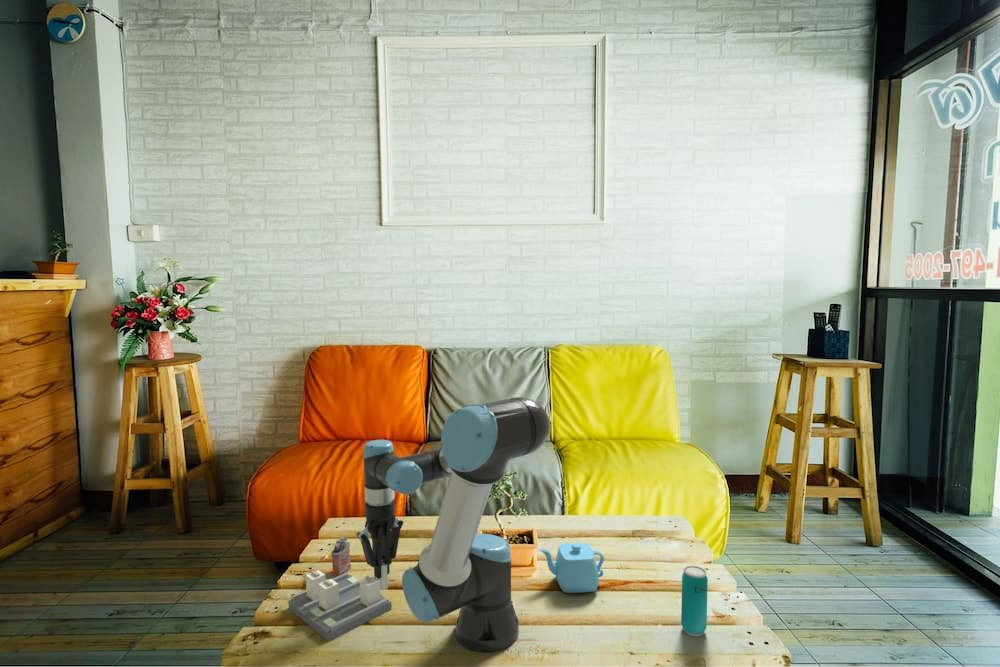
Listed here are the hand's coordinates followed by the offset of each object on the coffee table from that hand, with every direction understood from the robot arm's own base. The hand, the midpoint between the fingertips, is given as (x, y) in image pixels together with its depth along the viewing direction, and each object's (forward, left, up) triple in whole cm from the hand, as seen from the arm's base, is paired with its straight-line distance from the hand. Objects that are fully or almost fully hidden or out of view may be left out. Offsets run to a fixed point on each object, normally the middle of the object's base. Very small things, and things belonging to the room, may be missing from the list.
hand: (382, 587), depth 149 cm
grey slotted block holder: (+6, +9, -5) cm, 12 cm away
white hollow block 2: (0, +4, -2) cm, 4 cm away
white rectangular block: (+6, +12, -2) cm, 14 cm away
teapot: (-31, -41, -5) cm, 52 cm away
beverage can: (-65, -44, -5) cm, 78 cm away
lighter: (+22, -1, -5) cm, 23 cm away
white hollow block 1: (+13, +12, -2) cm, 18 cm away
